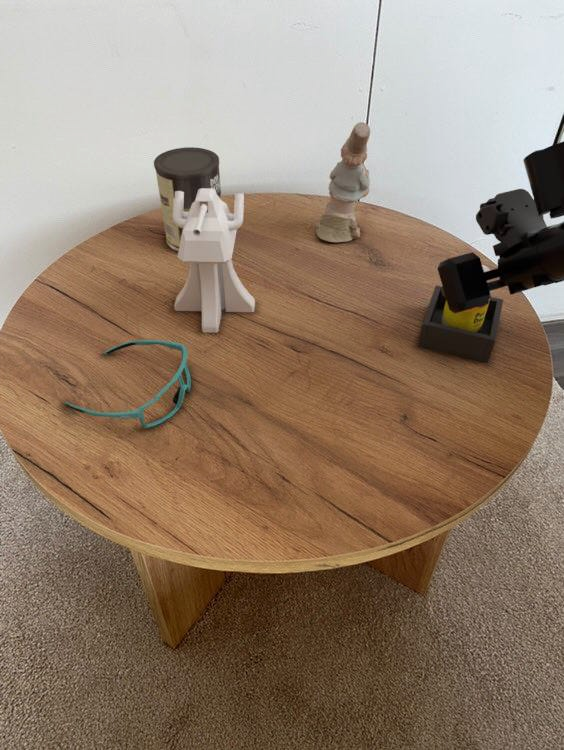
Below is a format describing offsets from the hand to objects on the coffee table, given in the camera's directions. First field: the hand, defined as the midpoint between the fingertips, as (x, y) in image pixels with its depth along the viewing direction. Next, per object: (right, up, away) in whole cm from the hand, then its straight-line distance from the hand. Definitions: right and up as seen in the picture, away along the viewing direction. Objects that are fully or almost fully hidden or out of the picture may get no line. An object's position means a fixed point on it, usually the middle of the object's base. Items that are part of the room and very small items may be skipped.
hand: (471, 283), depth 77 cm
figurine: (-15, +13, +26) cm, 33 cm away
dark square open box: (0, -6, +6) cm, 9 cm away
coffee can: (-40, +12, +25) cm, 49 cm away
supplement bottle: (0, -6, +6) cm, 8 cm away
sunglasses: (-44, -14, -2) cm, 46 cm away
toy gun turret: (-35, -2, +10) cm, 37 cm away
